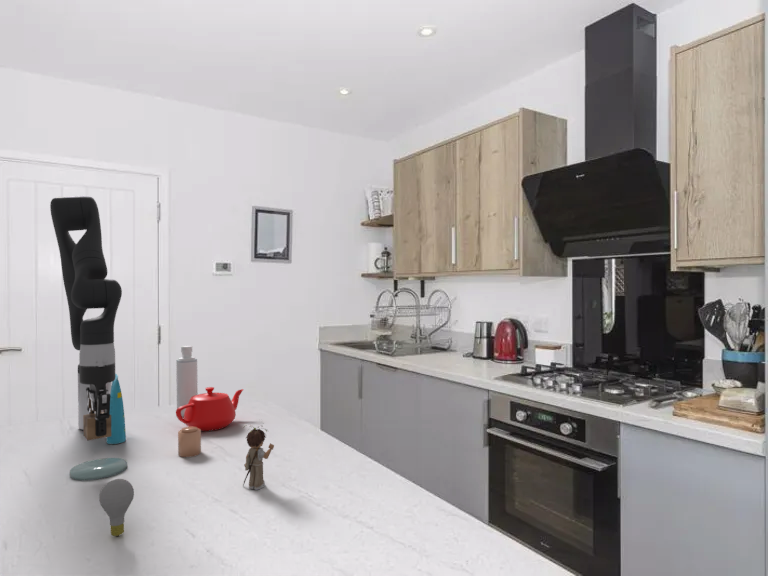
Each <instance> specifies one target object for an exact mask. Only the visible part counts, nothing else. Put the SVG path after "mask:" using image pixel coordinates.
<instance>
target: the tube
mask: <svg viewBox="0 0 768 576" xmlns="http://www.w3.org/2000/svg"><path fill="white" fill-rule="evenodd" d="M110 395H111V397H110V415H111V436H110V437H106V444H108V445H116V444H117V445H118V444H122V443H125V442H126V441H127V435H126V434H127V433H126V417H125V408H124V407H125V406H124V399H123V395H122V389H121V385H120V381H119V375H118V374H117V373H116V372H115V380H114V381H112V382H111V393H110Z"/></svg>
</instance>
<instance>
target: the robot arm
mask: <svg viewBox="0 0 768 576" xmlns="http://www.w3.org/2000/svg"><path fill="white" fill-rule="evenodd" d="M49 206H50V207H49V208H50V216H51V220H52V225H53V229H54V233H55V237H56V241H57V247H58V251H59V258H60V265H61V266H60V267H61V272H62V281H63V287H64V291H65V295H66V300H67V305H68V311H69V312H68V313H69V314H68V315H69V321H70V322H69V323H70V324H69V325H70V335H71V337H70V338H71V343H72V346H73V348H74V349H75V350H76V351H79V355H78V356H79V359H78V361H79V364H78V365H77V404H78V405H77V410H78V411H77V414H78V415H77V417H78V419H77V421H78V422H77V425H78V426H77V427H78V430H83V415H86V414H93V413H95V435H96V436H97V437H99V436H104V435H106V433H107V429H106V419H107V418H109V416H110V397H111V395H110V393H111V386H112V381H114V380H115V373H116V348H115V343H114V342H115V334H114V333H115V332H114V330H115V320H116V317H117V313H118V308H119V306H120V302H121V300H122V293H123V290H122V287H121V285H120V283H119V282H118V281H117V279H110V278H107V276H108V267H107V263H106V259H105V255H104V252H103V251H104V250H103V241H102V239H103V238H102V227H101V219H100V211H99V207H98V204H97V202H96V200H95V198H94V197H93V196H91V195H74V196H58V197H57V196H56V197H53V198H52V199H51V201H50V205H49ZM74 231H85V232H84V233H83V235H82V236H81V238H80V239H79V240H78V241H77V242H76V241H74V239H73V238H72V236H71V234H70V232H74ZM90 309H92V310H93V309H103V311H102V312H101V314H100V315H99V316H96V317H92V318H88V319H84V316H85V314H86V312H87V310H90ZM100 412H104V413H103V414H100Z"/></svg>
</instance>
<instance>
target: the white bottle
mask: <svg viewBox="0 0 768 576" xmlns="http://www.w3.org/2000/svg"><path fill="white" fill-rule="evenodd" d="M180 352H181V357H178V359H177V360H176V362H175V366H176V369H175V370H176V373H175V374H176V375H175V376H176V410H177V409H178V408H179V407H181V406H184V405H187V404H188V403H189V401H190V399H191V397H193V396H195V395H199V394H198V391H199V390H198V359H197V358H196V356H192V353H193V346H192V345H181V347H180ZM185 409H186V408H185ZM185 409H183V410H182V411H181V416H182V417H183V418H184V413H185Z"/></svg>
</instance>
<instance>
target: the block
mask: <svg viewBox="0 0 768 576" xmlns="http://www.w3.org/2000/svg"><path fill="white" fill-rule="evenodd" d="M103 413H104V412H100V414H103ZM106 429H107V433H106V435H104V436H99V437H97V436H96V435H95V413H93V414H86V415H83V437H84V438H85V439H86V440H87V441H91V440H92V441H93V440H98V439H103V438H107V437H110V436H111V415H110V416H109V418H107V419H106Z"/></svg>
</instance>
